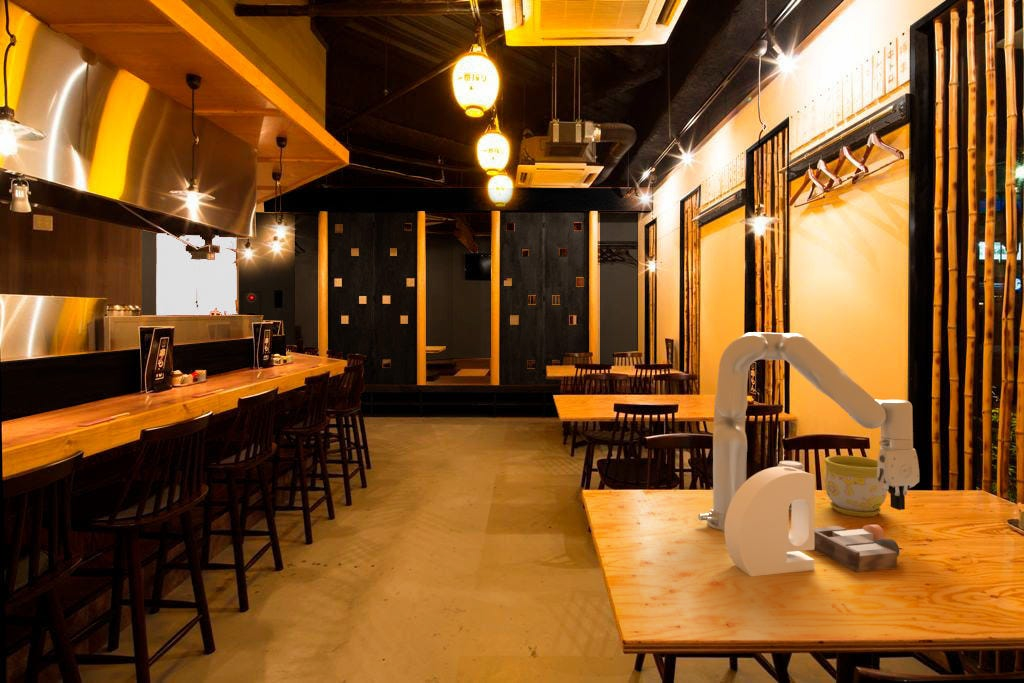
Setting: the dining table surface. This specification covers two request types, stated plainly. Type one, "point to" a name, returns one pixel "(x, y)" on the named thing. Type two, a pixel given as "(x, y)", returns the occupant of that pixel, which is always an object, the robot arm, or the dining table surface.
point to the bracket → (772, 522)
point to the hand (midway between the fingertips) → (897, 508)
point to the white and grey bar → (878, 546)
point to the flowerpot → (854, 485)
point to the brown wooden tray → (852, 551)
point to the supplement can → (794, 465)
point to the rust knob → (864, 532)
